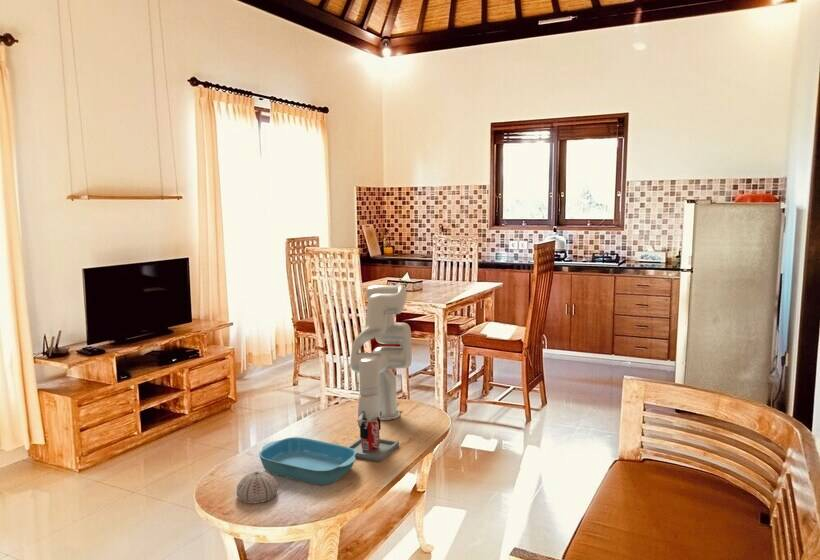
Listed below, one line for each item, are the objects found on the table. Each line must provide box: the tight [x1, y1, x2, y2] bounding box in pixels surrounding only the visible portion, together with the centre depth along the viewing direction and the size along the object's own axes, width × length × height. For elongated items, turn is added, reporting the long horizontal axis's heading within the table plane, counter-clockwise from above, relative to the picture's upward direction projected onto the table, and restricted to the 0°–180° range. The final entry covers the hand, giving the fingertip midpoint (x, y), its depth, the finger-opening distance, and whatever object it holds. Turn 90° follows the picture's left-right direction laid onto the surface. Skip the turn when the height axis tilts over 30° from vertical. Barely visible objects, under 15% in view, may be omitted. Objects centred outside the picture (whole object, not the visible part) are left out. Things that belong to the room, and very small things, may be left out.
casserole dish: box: [258, 436, 357, 486], centre depth 212 cm, size 37×22×7 cm, turn 63°
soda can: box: [361, 418, 381, 452], centre depth 228 cm, size 7×7×12 cm
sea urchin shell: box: [235, 470, 279, 503], centre depth 193 cm, size 13×14×8 cm
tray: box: [346, 437, 400, 463], centre depth 229 cm, size 16×16×2 cm
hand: (370, 433), depth 228 cm, fingers open, 9 cm apart
